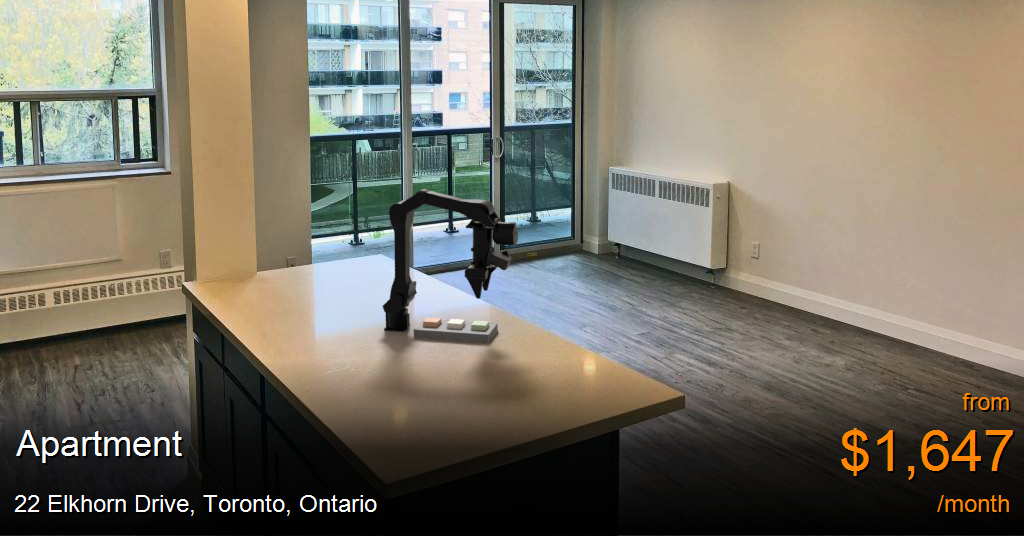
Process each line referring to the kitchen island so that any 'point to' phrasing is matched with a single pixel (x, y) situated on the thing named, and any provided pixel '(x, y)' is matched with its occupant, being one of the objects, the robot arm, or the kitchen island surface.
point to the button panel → (456, 332)
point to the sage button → (480, 325)
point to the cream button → (456, 324)
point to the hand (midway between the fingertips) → (482, 294)
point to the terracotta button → (432, 322)
